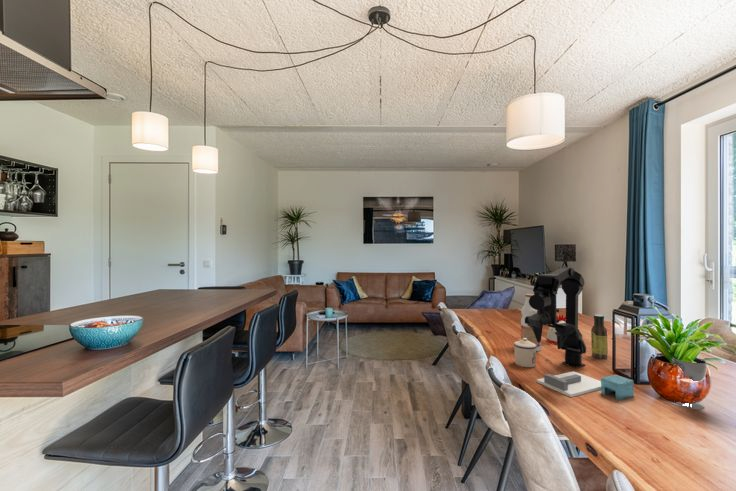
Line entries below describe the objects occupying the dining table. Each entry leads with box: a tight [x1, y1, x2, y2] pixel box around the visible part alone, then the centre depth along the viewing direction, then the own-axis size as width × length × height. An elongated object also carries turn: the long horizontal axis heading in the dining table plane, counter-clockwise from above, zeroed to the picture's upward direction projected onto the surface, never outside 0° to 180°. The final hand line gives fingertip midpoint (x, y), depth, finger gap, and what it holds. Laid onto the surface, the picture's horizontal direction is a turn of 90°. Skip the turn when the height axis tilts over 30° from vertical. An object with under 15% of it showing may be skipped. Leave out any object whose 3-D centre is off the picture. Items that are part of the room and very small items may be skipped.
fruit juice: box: [520, 293, 542, 352], centre depth 169 cm, size 9×9×28 cm
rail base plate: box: [536, 371, 601, 398], centre depth 125 cm, size 21×14×4 cm, turn 113°
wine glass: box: [672, 356, 707, 411], centre depth 109 cm, size 8×8×15 cm
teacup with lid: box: [513, 338, 537, 368], centre depth 148 cm, size 12×9×12 cm
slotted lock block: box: [600, 374, 635, 401], centre depth 116 cm, size 8×6×6 cm
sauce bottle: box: [590, 313, 609, 360], centre depth 156 cm, size 6×6×20 cm
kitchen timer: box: [546, 314, 566, 345], centre depth 180 cm, size 14×14×15 cm
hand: (548, 345), depth 130 cm, fingers open, 9 cm apart
